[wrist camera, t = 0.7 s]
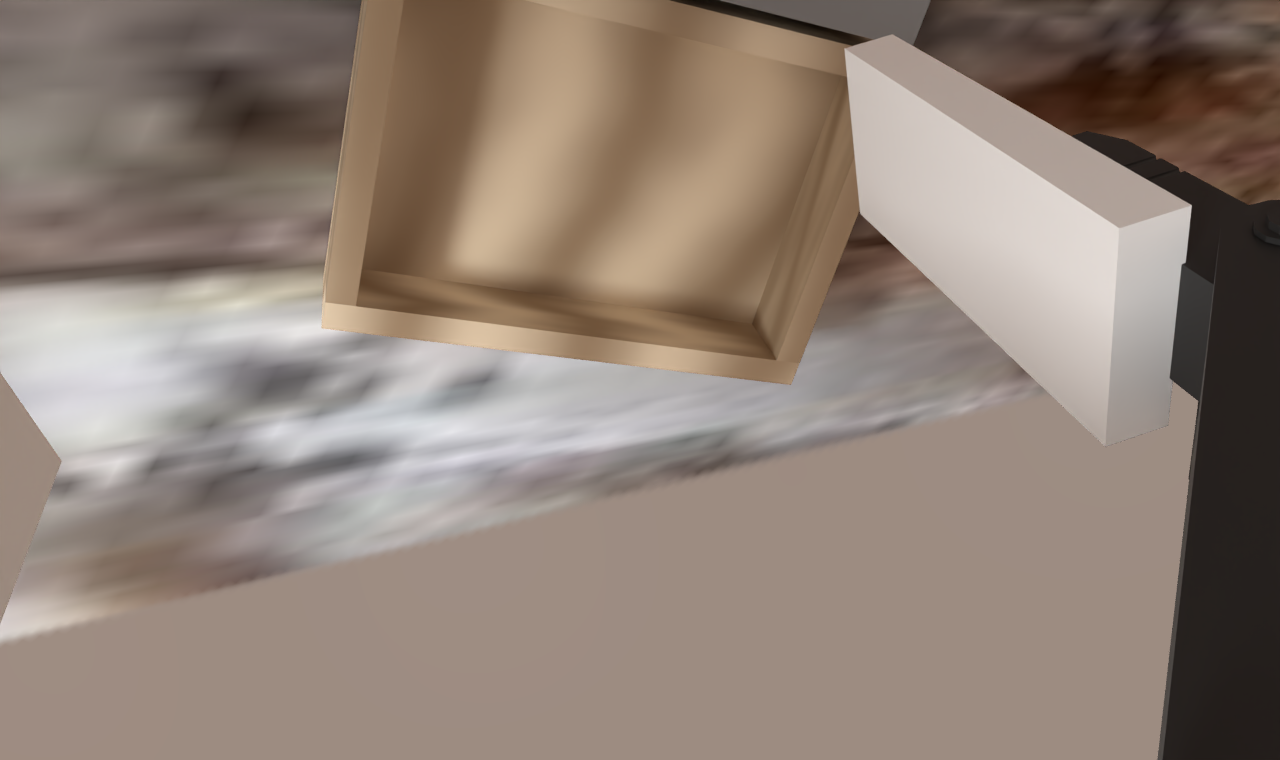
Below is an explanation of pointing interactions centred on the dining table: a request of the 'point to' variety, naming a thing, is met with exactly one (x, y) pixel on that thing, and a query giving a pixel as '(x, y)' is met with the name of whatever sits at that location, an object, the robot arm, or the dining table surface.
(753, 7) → the grey square tray
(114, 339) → the dining table surface
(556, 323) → the wooden tray
